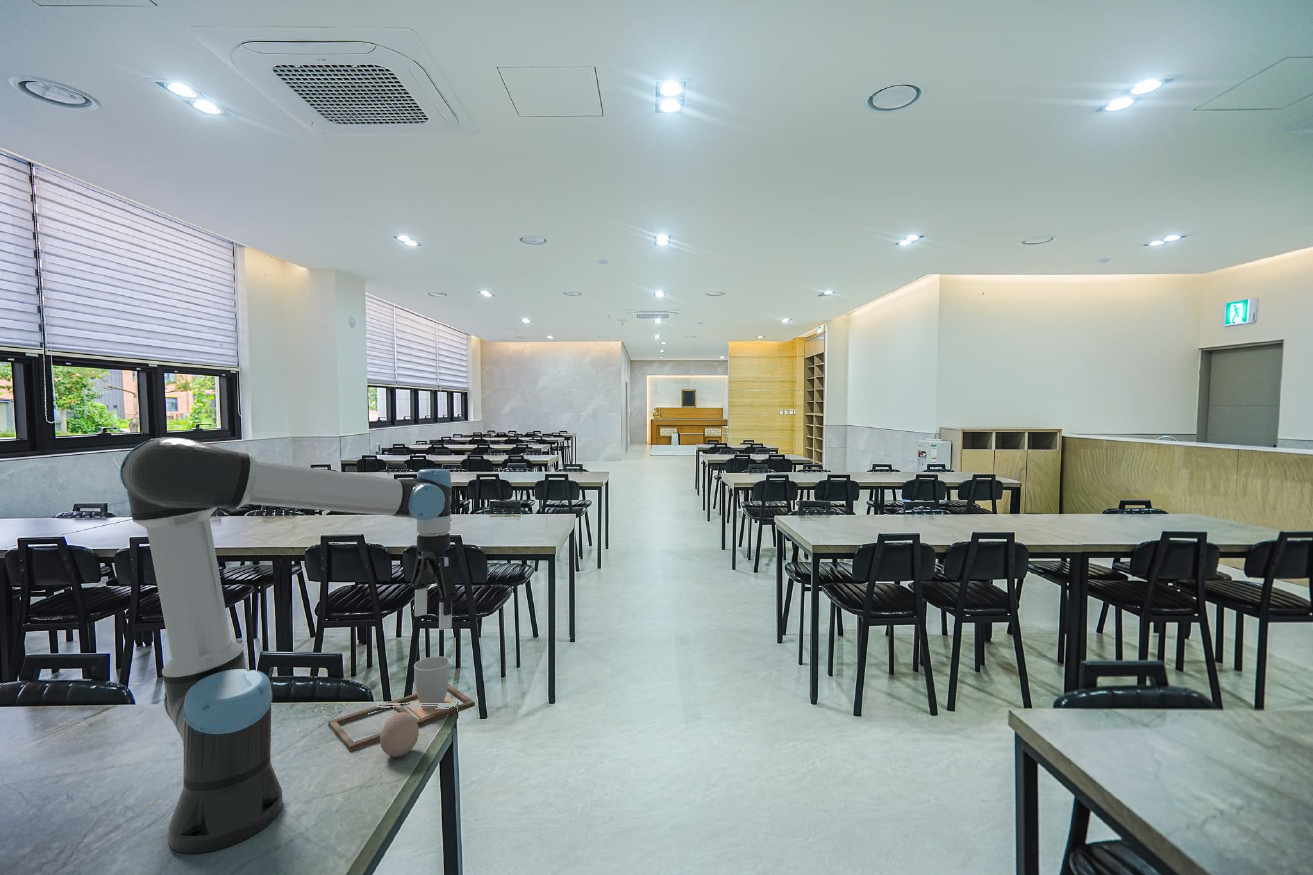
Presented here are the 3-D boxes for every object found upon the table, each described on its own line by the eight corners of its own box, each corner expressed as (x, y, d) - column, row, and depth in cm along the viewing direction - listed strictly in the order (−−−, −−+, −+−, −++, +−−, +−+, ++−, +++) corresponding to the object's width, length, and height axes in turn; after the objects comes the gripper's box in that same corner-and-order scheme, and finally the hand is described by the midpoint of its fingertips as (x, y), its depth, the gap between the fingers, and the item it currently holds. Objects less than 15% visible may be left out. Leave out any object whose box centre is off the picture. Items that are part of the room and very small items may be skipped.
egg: (417, 760, 112) (417, 719, 112) (377, 767, 109) (378, 725, 109) (419, 742, 118) (419, 703, 118) (382, 748, 116) (382, 708, 116)
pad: (458, 706, 134) (458, 704, 134) (421, 719, 128) (421, 717, 128) (442, 693, 141) (442, 692, 141) (405, 705, 134) (405, 704, 134)
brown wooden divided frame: (474, 706, 134) (474, 701, 134) (349, 751, 115) (349, 746, 115) (447, 686, 145) (447, 683, 145) (328, 725, 125) (328, 721, 125)
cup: (457, 702, 136) (457, 661, 136) (427, 716, 129) (428, 672, 129) (436, 693, 140) (436, 653, 140) (406, 706, 133) (406, 664, 133)
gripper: (473, 538, 128) (472, 630, 128) (427, 525, 146) (426, 607, 146) (441, 542, 123) (440, 638, 123) (397, 528, 140) (396, 613, 140)
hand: (432, 621), depth 134 cm, fingers open, 13 cm apart
